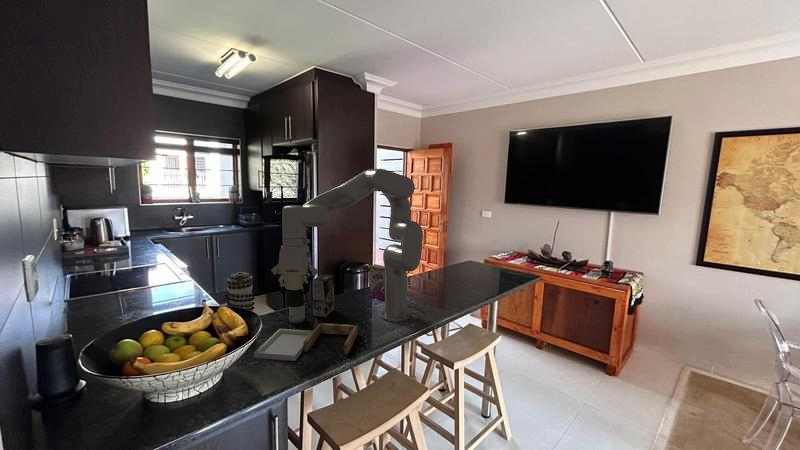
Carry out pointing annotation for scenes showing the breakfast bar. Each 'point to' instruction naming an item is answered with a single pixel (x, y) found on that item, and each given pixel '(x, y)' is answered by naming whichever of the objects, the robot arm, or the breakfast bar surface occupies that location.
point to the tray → (283, 345)
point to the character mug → (293, 288)
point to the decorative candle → (240, 291)
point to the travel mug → (297, 314)
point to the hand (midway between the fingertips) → (295, 292)
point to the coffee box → (323, 295)
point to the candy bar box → (377, 282)
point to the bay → (333, 329)
